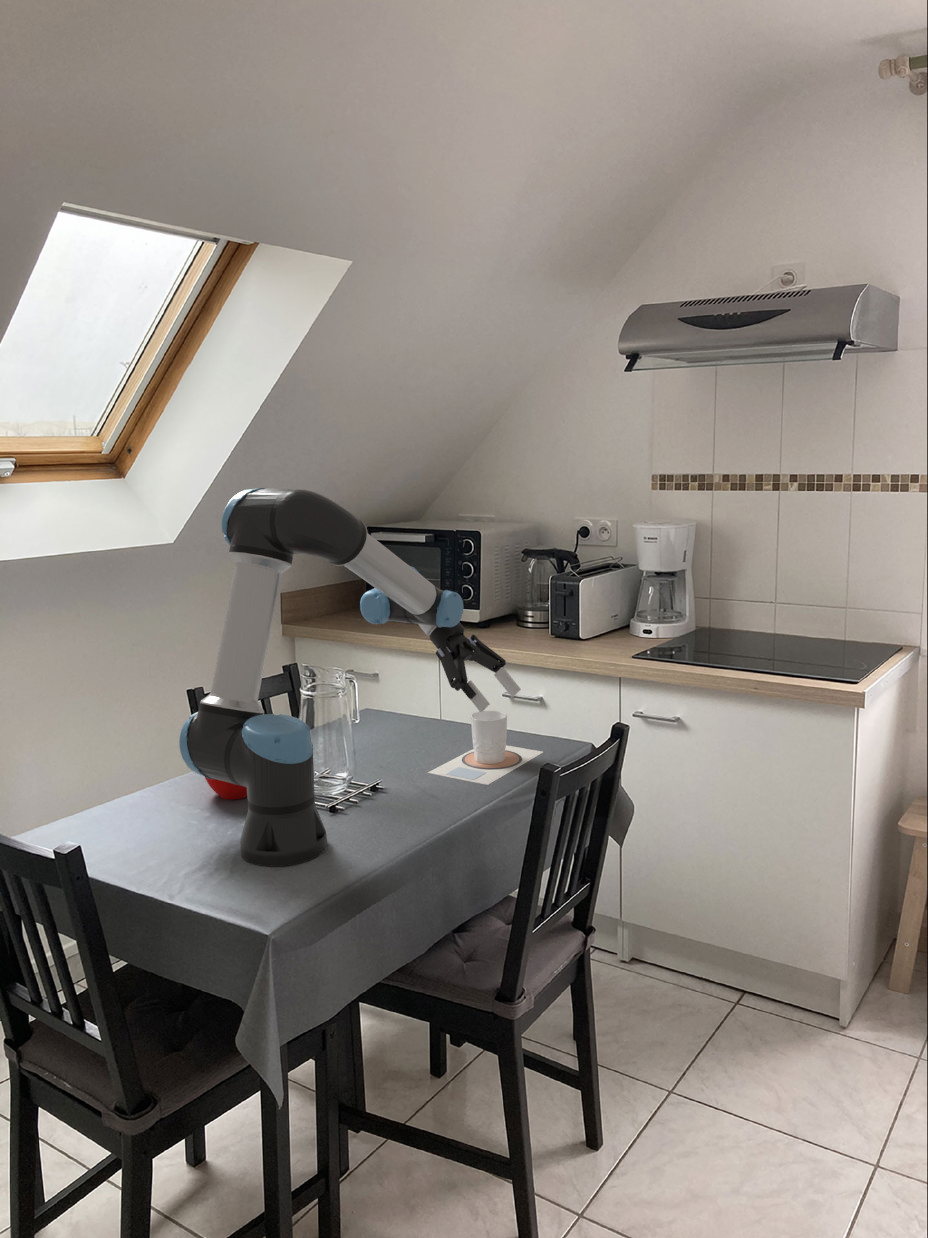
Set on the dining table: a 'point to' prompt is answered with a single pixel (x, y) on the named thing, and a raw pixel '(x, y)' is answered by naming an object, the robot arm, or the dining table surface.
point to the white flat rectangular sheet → (481, 776)
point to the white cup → (489, 736)
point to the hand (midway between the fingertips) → (501, 700)
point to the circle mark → (509, 761)
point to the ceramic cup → (227, 789)
